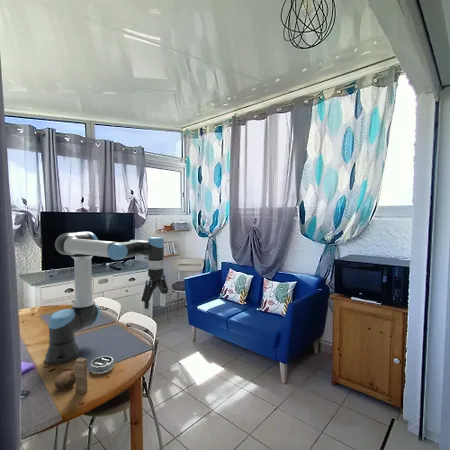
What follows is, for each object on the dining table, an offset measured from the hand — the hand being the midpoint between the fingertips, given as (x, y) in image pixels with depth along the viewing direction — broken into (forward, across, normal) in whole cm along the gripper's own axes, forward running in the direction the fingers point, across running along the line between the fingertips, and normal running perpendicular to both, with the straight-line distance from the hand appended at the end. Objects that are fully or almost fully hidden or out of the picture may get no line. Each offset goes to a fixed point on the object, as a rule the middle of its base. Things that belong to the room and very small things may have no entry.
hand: (155, 310), depth 139 cm
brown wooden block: (+28, -30, +17) cm, 44 cm away
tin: (+28, -13, +21) cm, 37 cm away
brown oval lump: (+28, -30, +26) cm, 48 cm away
